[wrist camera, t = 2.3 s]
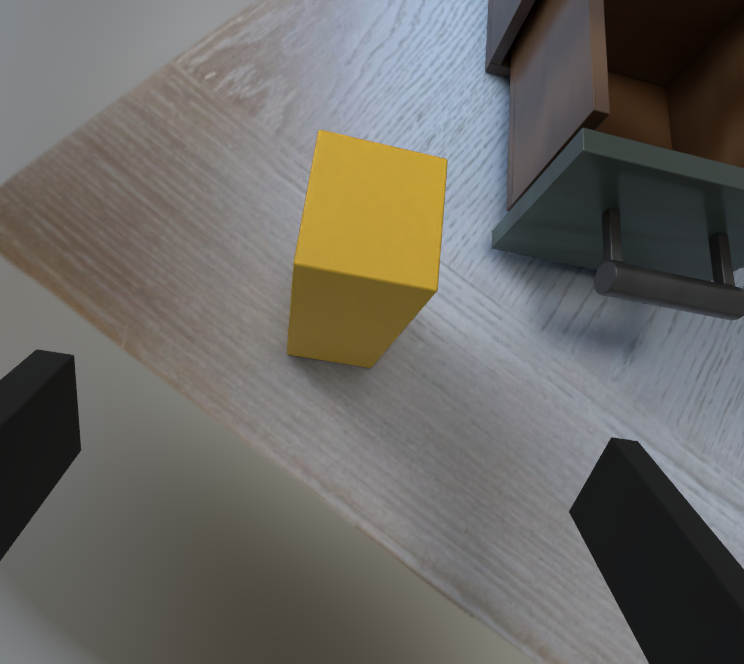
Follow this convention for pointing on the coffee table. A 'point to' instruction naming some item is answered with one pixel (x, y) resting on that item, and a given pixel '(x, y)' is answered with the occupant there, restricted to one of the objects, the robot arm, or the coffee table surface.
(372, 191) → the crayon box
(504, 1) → the cabinet
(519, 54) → the drawer
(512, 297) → the coffee table surface
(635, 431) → the coffee table surface
